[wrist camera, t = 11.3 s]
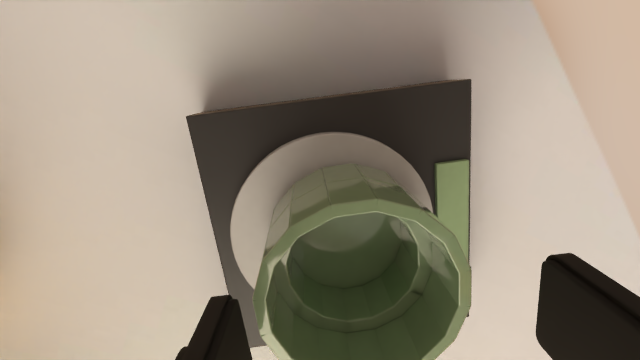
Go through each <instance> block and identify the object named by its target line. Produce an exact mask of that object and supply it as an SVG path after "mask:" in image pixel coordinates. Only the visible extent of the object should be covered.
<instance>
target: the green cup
mask: <svg viewBox="0 0 640 360" xmlns="http://www.w3.org/2000/svg"><path fill="white" fill-rule="evenodd" d="M252 298H253V300H252V301H253V306H254V311H255V315H256V320H257V324H258V329H259V334H260V335H261V338H262V339H263V340H264V342H265V343H266V344H267V345H268V347H269V348H270V349H271V351H272V352H273V353H274V354H275V356H276V357H277V358H278V359H279V360H435V359H436V358H437V357H438V356H439V355H440V354H441V353H442V352H443V351H444V350H445V349H446V348H447V347H449V346H450V345H451V344H452V343H453V342H454V339H456V337H457V335H458V333H459V331H460V329H461V327H462V324H463V322H464V320H465V318H466V316H467V314H468V312H469V309H470V306H471V267H470V265H469V263H468V261H467V259H466V257H465V254H464V252H463V250H462V248H461V246H460V244H459V242H458V240H457V238H456V236H455V235H454V233H453V232H452V231H451V230H450V229H449V228H447V227H446V226H445V225H444V224H443V223H442V222H441V221H440V220H439V219H438V218H437V217H436V216H435V215H434V214H433V213H432V212H431V211H430V210H429V209H428V208H427V207H426V206H425V205H424V204H423V203H422V202H421V201H420V200H419V199H418V198H417V197H416V196H415V195H413V194H412V193H411V192H410V191H409V190H408V189H407V188H406V187H405V186H403V185H402V184H401V183H400V182H398V181H397V180H396V179H394V178H393V177H392V176H391V175H389V174H388V173H387V172H384V171H382V170H378V169H374V168H371V167H367V166H363V165H359V164H353V163H352V164H345V165H337V166H330V167H323V168H320V169H318V170H317V171H315V172H313V173H311V174H309V175H308V176H306V177H304V178H302V179H301V180H299V181H297V182H295V183H294V184H293V185H292V186H291V187H290V188H289V190H288V191H287V192H286V194H285V195H284V196H283V197H282V199H281V200H280V201H279V202H278V204H277V205H276V206H275V208H274V210H273V214H272V218H271V222H270V226H269V230H268V234H267V238H266V242H265V247H264V251H263V255H262V259H261V264H260V268H259V272H258V276H257V280H256V285H255V289H254V293H253V297H252Z"/></svg>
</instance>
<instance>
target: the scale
mask: <svg viewBox="0 0 640 360" xmlns="http://www.w3.org/2000/svg"><path fill="white" fill-rule="evenodd" d="M186 119H187V123H188V127H189V131H190V135H191V140H192V144H193V148H194V152H195V156H196V160H197V165H198V169H199V173H200V177H201V181H202V185H203V189H204V194H205V198H206V202H207V206H208V210H209V214H210V219H211V223H212V227H213V231H214V235H215V239H216V244H217V248H218V252H219V256H220V260H221V264H222V268H223V273H224V277H225V281H226V285H227V289H228V293H229V295H231V296H232V298H233V299H238V301H239V305H240V309H241V313H242V318H243V322H244V326H245V330H246V335H247V339H248V343H249V348H252V347H259V346H266V345H267V344H266V343H265V342H264V340H263V339H262V338H261V335H260V334H259V329H258V324H257V320H256V315H255V311H254V306H253V301H252V300H253V298H252V297H253V293H254V289H255V285H256V280H257V276H258V272H259V268H260V264H261V259H262V255H263V251H264V247H265V242H266V238H267V234H268V230H269V226H270V222H271V218H272V214H273V210H274V208H275V206H276V205H277V204H278V202H279V201H280V200H281V199H282V197H283V196H284V195H285V194H286V192H287V191H288V190H289V188H290V187H291V186H292V185H293V184H294V183H295V182H297V181H299V180H301V179H302V178H304V177H306V176H308V175H309V174H311V173H313V172H315V171H317V170H318V169H320V168H323V167H330V166H337V165H345V164H352V163H353V164H359V165H363V166H367V167H371V168H374V169H378V170H382V171H384V172H387V173H388V174H389V175H391V176H392V177H393V178H394V179H396V180H397V181H398V182H400V183H401V184H402V185H403V186H405V187H406V188H407V189H408V190H409V191H410V192H411V193H412V194H413V195H415V196H416V197H417V198H418V199H419V200H420V201H421V202H422V203H423V204H424V205H425V206H426V207H427V208H428V209H429V210H430V211H431V212H432V213H433V214H434V215H435V216H436V217H437V218H438V219H439V220H440V221H441V222H442V223H443V224H444V225H445V226H446V227H447V228H449V229H450V230H451V231H452V232H453V233H454V235H455V236H456V238H457V240H458V242H459V244H460V246H461V248H462V250H463V252H464V254H465V257H466V259H467V261H468V263H469V245H470V151H471V79H464V80H446V81H438V82H430V83H422V84H415V85H407V86H399V87H392V88H384V89H376V90H369V91H361V92H353V93H346V94H338V95H330V96H323V97H315V98H307V99H300V100H292V101H284V102H277V103H269V104H261V105H253V106H246V107H238V108H230V109H223V110H215V111H207V112H201V113H197V114H193V115H189V116H186ZM468 316H469V312H468V314H467V316H466V317H468Z"/></svg>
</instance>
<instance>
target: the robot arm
mask: <svg viewBox="0 0 640 360" xmlns="http://www.w3.org/2000/svg"><path fill="white" fill-rule="evenodd" d="M536 337H537V340H538V342H539V344H540V345H541V347H542V348H543V349H544V350H545V351H546V352H547V353H548V355H549V356H550V357H551V358H552V359H553V360H640V297H639V296H637V295H636V294H634V293H632V292H631V291H629V290H628V289H626V288H625V287H623V286H622V285H620V284H619V283H617V282H616V281H614V280H612V279H611V278H609V277H608V276H606V275H605V274H603V273H602V272H600V271H599V270H597V269H596V268H594V267H593V266H591V265H589V264H588V263H586V262H585V261H583V260H582V259H580V258H579V257H577V256H576V255H574V254H572V253H565V254H557V255H550V256H548V257H547V259H546V261H544V262H543V263H542V269H541V280H540V291H539V302H538V313H537V325H536ZM175 360H252V356H251V352H250V348H249V343H248V339H247V335H246V330H245V326H244V322H243V318H242V313H241V309H240V305H239V301H238V299H233V298H232V296H231V295H224V296H216V297H211V298H210V300H209V302H208V304H207V306H206V308H205V310H204V313H203V315H202V317H201V319H200V321H199V323H198V325H197V328H196V330H195V332H194V334H193V336H192V338H191V340H190V342H189V345H188V346H187V347H183V348H182V349H181V350H180V352H179V353H178V355H177V357H176V359H175Z"/></svg>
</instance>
